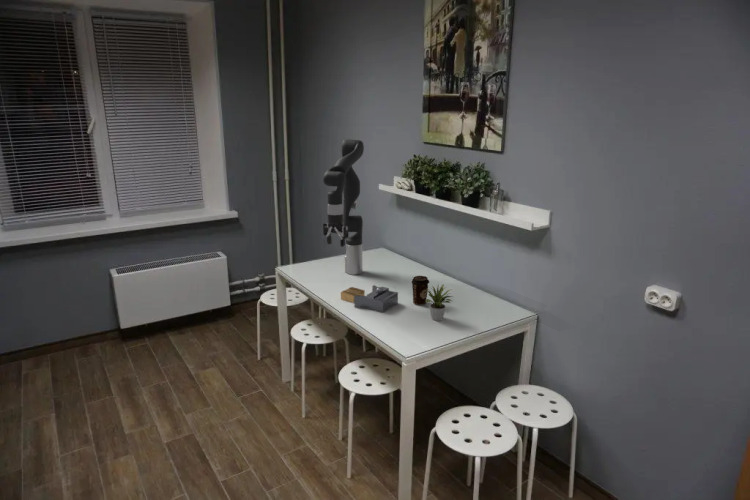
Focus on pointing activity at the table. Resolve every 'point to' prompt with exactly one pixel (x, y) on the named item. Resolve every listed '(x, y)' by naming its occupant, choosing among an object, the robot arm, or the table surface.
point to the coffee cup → (420, 289)
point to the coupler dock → (377, 299)
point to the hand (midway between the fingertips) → (336, 245)
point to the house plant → (438, 303)
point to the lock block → (351, 294)
